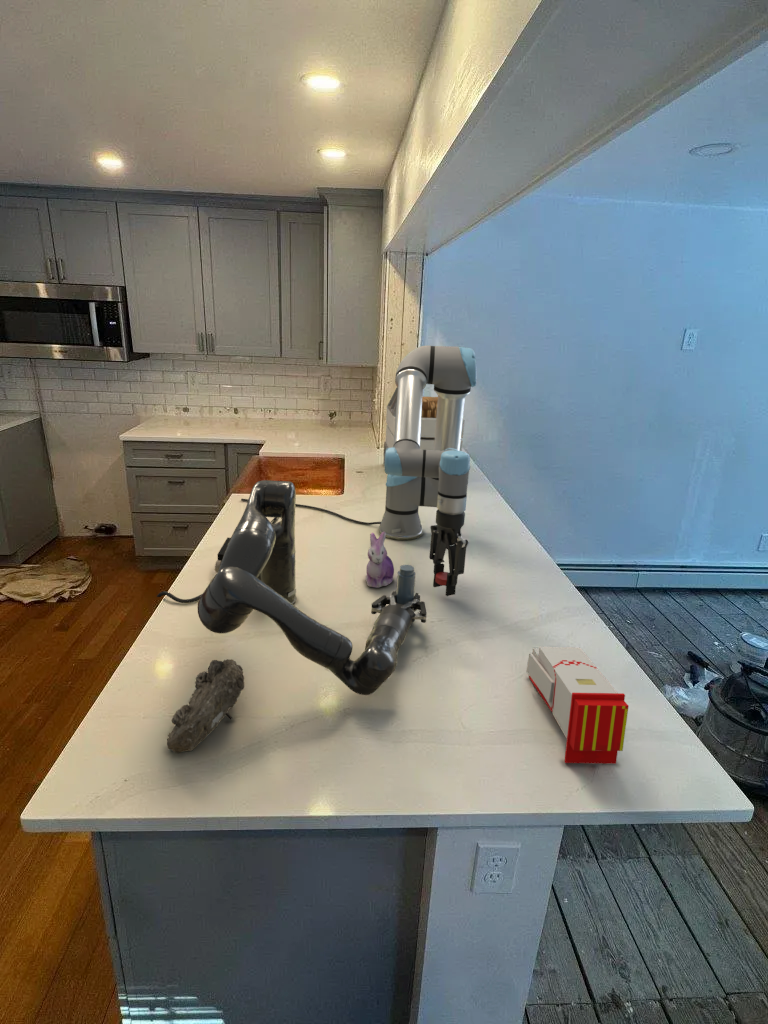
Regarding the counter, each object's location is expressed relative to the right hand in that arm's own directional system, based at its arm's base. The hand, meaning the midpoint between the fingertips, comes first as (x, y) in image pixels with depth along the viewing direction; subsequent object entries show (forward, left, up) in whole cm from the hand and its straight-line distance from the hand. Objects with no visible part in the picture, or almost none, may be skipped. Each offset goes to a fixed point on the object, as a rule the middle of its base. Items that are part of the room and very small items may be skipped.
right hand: (443, 590), depth 156 cm
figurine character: (-49, -38, -2) cm, 63 cm away
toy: (+48, -15, -2) cm, 50 cm away
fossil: (+7, -70, -2) cm, 71 cm away
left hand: (+1, -15, +4) cm, 16 cm away
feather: (-82, -3, -2) cm, 82 cm away
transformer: (-95, +82, -2) cm, 126 cm away
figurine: (-18, -8, -2) cm, 20 cm away
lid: (0, 0, +4) cm, 4 cm away
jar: (+3, -18, -2) cm, 18 cm away
